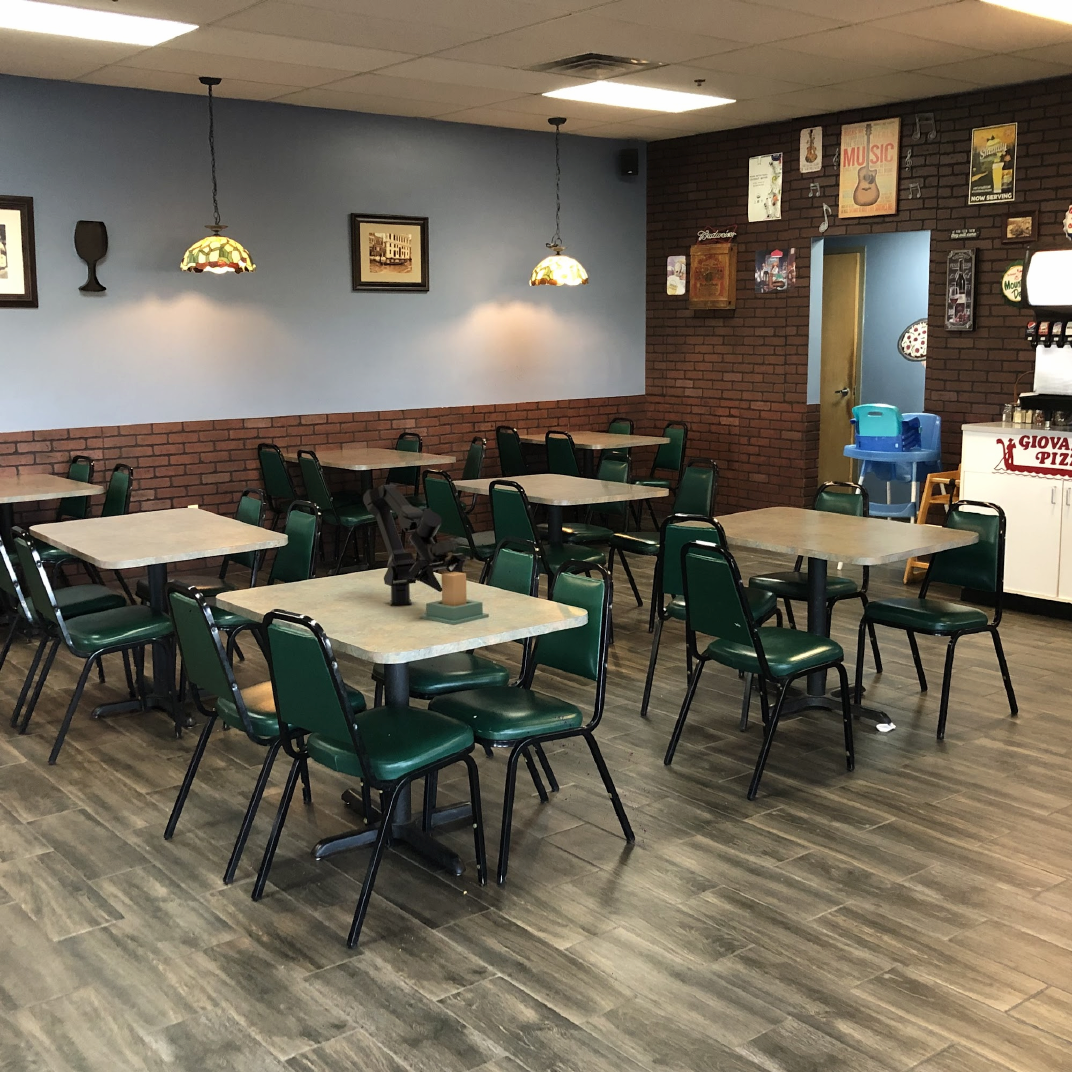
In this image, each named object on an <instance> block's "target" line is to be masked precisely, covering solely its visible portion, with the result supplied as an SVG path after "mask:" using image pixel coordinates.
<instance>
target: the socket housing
mask: <svg viewBox="0 0 1072 1072" xmlns="http://www.w3.org/2000/svg"><path fill="white" fill-rule="evenodd" d="M425 605H426V607H425V612H426V613H425V614H420V615H419V618H420V619H424V620H427V621H432V622H438V623H442V624H443V623H444V624H448V625H453V626H454V625H459V624H463V623H468V622H472V621H477V620H480V619H484V618H489V617H490V614H489V613H487V612H486V613H485V612H484V611H483V602H482V601H479V600H478V601H477V600H472V599H467V604H463V605H459V606H448V605H443V604H442V599H441V600H436V601H431V602H426V604H425Z"/></svg>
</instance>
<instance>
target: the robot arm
mask: <svg viewBox="0 0 1072 1072" xmlns="http://www.w3.org/2000/svg"><path fill="white" fill-rule="evenodd" d="M362 497H363V498H362V500H363V504H364V505H365V508H366V510H367V511H368V513H369V514H371V516H373V517H374V518H375V519H376V521H377V522H376V523H377V526H378V528H379V530H380V533H381V536H382V539H383V542H384V545H385V548H386V551H387V553H388V557H389V558H388V562H387V566H386V567H387V570H386V571H385V573H384V576H383V582H384V585H387V586H389V587H390V598H391V599H390V600H389V605H390V606H411V605H412V599H411V594H410V593H411V591H410V587H411V586H410V584H416V583H417V582H420V583H423V584H424V585H427V586H428V587H431V588H432V589H434V590H436V591H437V592H439V593H442V584H440V583H439V580H438V579H437V577H436V575H435V573H434V571H435V570H441V569H446V571H447V572H448V573H450V572H459V573H464V572H463V571H464V569H463V567H464V565H465V564H466V562H467V561H468V558H467V557H466V554H464V553H461V552H459V553H455V554H452V555H451V556H449V554H450V553H451V552H455V551H456V549H457V548H458V546H459V545H458V542H457V540H456V539H455V538H454V537H450V538H448V539H446V540H443V541H440V542H435V540H434V539H433V537H434V536H435V535H436V534H437V532H438V530H439V529H440V527H441V525H442V521H443V520H442V516H440V514H439V513H436V512H435V511H433V510H432V508H425V509H423V510H422V509H421V508H419V507H416V506H413V505H412V504H410V502H409V501H408V500H407V499H406V498H405V496H404V495H403V493H401V492H400V490H399V488H398V486H397V485H396V484H393V483H392V484H382V485H380V486H378V487H377V488H373V489H368V490H366V492H365V493H364V494H363V496H362ZM391 510H393V511H394V513H396V515H397V516H398V518H399V519H398V524H399V526H400V528H401V529H402V530H403V531H404V532H411V535H409V536H408V541H407V545H408V546H413V547H414V549H415V550H416V551H417V554H418V555H417V558H418V560H417V561H415V559H414V556H413V553H412V552H411V551H410V552H409V551H407V552H406V551H405V549H404V546H403V543H402V540H401V538H400V537H401V536H400V535H399V532H398V529H397V526H396V523H395V520H394V518H393V514H392V511H391ZM448 557H449V559H448V560H447V558H448Z"/></svg>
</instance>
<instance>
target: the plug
mask: <svg viewBox="0 0 1072 1072" xmlns="http://www.w3.org/2000/svg"><path fill="white" fill-rule="evenodd" d="M440 575H441V588H442V591H441V600H442V604H443V605H448V606H459V605H463V604H467V600H468V599H467V573H465V572H463V573H459V572H445V573H441V574H440Z"/></svg>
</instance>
